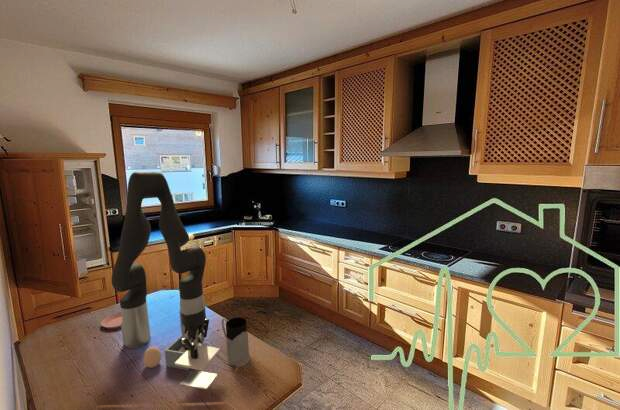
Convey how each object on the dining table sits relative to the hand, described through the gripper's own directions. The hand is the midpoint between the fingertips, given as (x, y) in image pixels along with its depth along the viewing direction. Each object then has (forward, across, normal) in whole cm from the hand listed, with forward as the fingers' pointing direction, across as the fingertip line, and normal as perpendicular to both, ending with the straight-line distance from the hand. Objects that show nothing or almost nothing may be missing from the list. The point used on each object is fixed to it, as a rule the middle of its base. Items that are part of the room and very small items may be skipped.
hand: (197, 355), depth 103 cm
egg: (+10, -2, -21) cm, 23 cm away
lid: (+1, 0, 0) cm, 1 cm away
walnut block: (+9, -8, -11) cm, 16 cm away
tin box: (+10, -8, -11) cm, 16 cm away
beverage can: (+10, -18, -17) cm, 27 cm away
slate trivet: (+10, 0, 0) cm, 10 cm away
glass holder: (+10, -14, +6) cm, 18 cm away
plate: (+10, -25, -59) cm, 65 cm away
